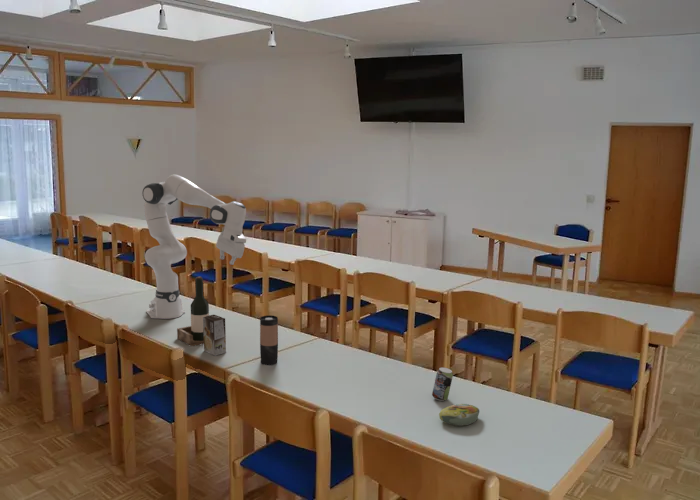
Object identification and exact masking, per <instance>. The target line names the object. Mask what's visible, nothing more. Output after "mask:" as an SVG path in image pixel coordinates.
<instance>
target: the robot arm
mask: <svg viewBox="0 0 700 500" xmlns="http://www.w3.org/2000/svg"><path fill="white" fill-rule="evenodd" d="M141 195H142V197H143V198H142V199H143V200H144V201H145V203H144V205H143V206H144V214H145V215H144V216H145V220H146V225H147V228H148V232H149V235H150V237H152V238H153V239H155V240H156V241H157V242H158V244H159V245H155V246H152V247H150V248H149V249H147V250H146V251H145V253H144V260H145V263H146V264H147V265H148V266H150V267H151V269H152V270H153V272H154V275H155V280H156V289H155V297H154V298H153V299H152V300H151V301H150V303H149V304H148V305H149V306H148V307H149V308H148V309H145V310H146V311H145V312H146V314H147V315H148V316H149V317H150V318H151V319H163V320H164V319H165V320H166V319H170V320H171V319H176V318H179V317H181V316H183V314H185V313H186V311H185V310H184V308H183V301H182V299H183V298H181V297H180V288H179V276H178V274H177V273H176V272H175V271H173V269H172V264H176V263H177V264H178V263H179V262H181V261H183V260H184V259H186V257H187V255H188V250H187V248H186V246H185V245H184V244H183V243H182V242H180V241H179V239H178V238H177V237H176V236H175V234H174V232H173V230H172V227H171V224H170V220H169V216H168V213H167V206H168V205H172V204H173V203H174V202H176V201H178V200H179V202H182V203H184V204H187V205H192V206H201V207H205V208H209V209H210V211H209V219H210V220H211V221H212V222H213V223H214V224H216V225H223V226H224V227H223V230H222V231H221V232H220V234H219V236H218V238H217V241H216V248H217V249H219V259H220V260H225V257H226V256H225V253H226V254H228V255H230V256H231V260H229V265H232V266H233V265H235V262H236V261H237V259H241V258H242V257H243V255H244V253H245V252H244V251H245V247H246V246H245V243H247V237H245V235H244V234H243V226H244V224H245V220H246V215H247V208H246V205H244V204H243V203H241V202H238V201H235V200H234V201H230V202H228V203H227V202H224V201H223V200H220V199H219V198H218V197H215V195H212V194H210V193H208V192H207V191H205V190H204V189H203V188H201V187H199V186H198V185H196V184H195V183H194V182H192V181H191V180H189V179H187V177H186V178H185V177H183V176H181V175H179V174H176V173H174V174H170V175H169V176H167V177H166V179H165V181H160V182H156V183H154V182H153V183H149V184H146V185H145V186H144V187H143V189H142V193H141Z"/></svg>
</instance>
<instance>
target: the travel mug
mask: <svg viewBox="0 0 700 500" xmlns="http://www.w3.org/2000/svg"><path fill="white" fill-rule="evenodd" d="M278 321H279V319H278V316H275V315H262V316H260V318H259V350H260V354H259V355H260V363H261V365H264V366H274V365H277V363H278V357H279V356H278V352H279V351H278V349H279V334H278V333H279V325H278V324H279V323H278Z"/></svg>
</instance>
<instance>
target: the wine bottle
mask: <svg viewBox="0 0 700 500" xmlns="http://www.w3.org/2000/svg"><path fill="white" fill-rule="evenodd" d="M194 280H195V281H194V282H195V297H194V299H192V303H191V304H190V326H191V335H193V340H194V341H204V334H203V317H206V316H209V315H210V312H209V311H210V307H209V305H210V304H209V302H208V300H206V298H205V296H204V278H203V277H202V276H196V277H195V279H194Z"/></svg>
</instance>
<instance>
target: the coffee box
mask: <svg viewBox="0 0 700 500" xmlns="http://www.w3.org/2000/svg"><path fill="white" fill-rule="evenodd" d="M203 334H204V344H203V351H204V352H206V353H208V354H210V355H213V356H220V355H222V354H226V353H227V346H226V345H227V343H226V342H227V340H226V339H227V338H226V337H227V335H226V334H227V333H226V318H225V317H222V316H220V315H216V314H209V316H206V317H203Z"/></svg>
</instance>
